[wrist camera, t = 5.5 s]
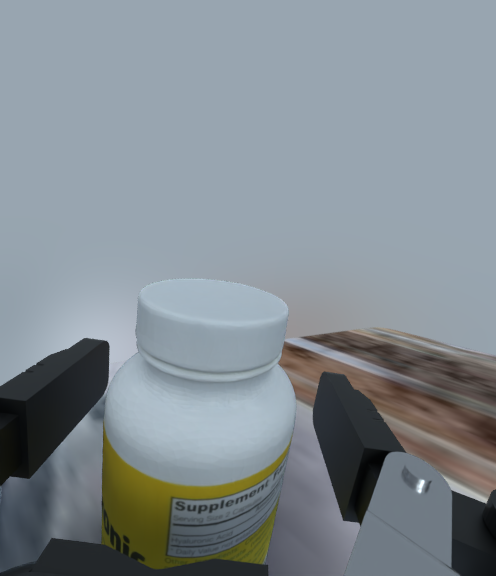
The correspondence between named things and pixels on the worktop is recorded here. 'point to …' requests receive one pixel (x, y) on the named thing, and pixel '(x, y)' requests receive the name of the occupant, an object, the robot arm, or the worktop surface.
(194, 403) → the supplement bottle
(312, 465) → the worktop surface
